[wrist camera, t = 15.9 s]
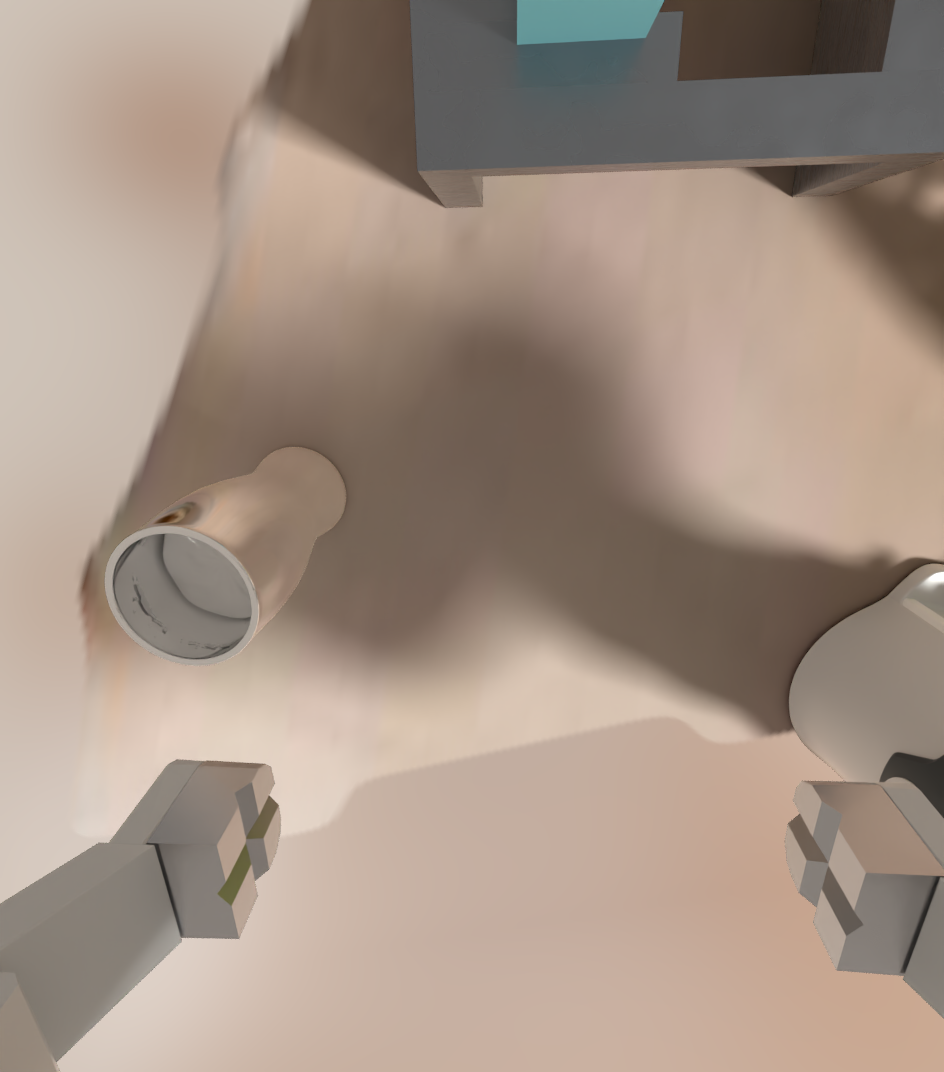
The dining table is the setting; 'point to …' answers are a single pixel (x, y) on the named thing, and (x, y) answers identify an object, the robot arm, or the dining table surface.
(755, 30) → the dining table surface
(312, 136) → the dining table surface
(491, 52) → the keyhole bracket
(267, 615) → the beer glass
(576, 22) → the peg
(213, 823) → the robot arm
